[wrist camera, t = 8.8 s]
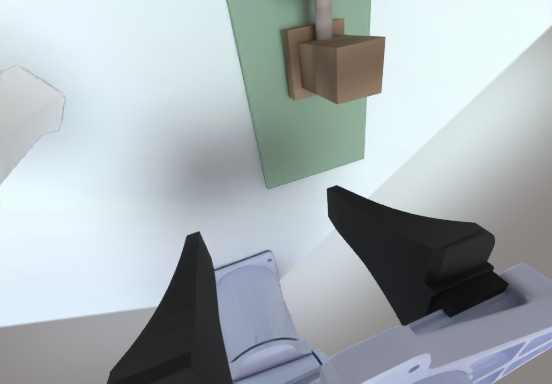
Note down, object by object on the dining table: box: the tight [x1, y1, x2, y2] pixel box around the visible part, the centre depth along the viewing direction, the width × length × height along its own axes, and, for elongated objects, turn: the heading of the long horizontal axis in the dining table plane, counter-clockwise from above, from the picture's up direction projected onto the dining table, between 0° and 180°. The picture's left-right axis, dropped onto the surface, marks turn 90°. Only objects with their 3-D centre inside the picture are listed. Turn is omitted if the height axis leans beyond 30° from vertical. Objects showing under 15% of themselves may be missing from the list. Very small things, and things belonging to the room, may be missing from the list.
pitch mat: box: [227, 0, 371, 189], centre depth 20 cm, size 19×10×1 cm, turn 9°
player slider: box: [281, 0, 385, 105], centre depth 15 cm, size 8×4×6 cm, turn 9°
